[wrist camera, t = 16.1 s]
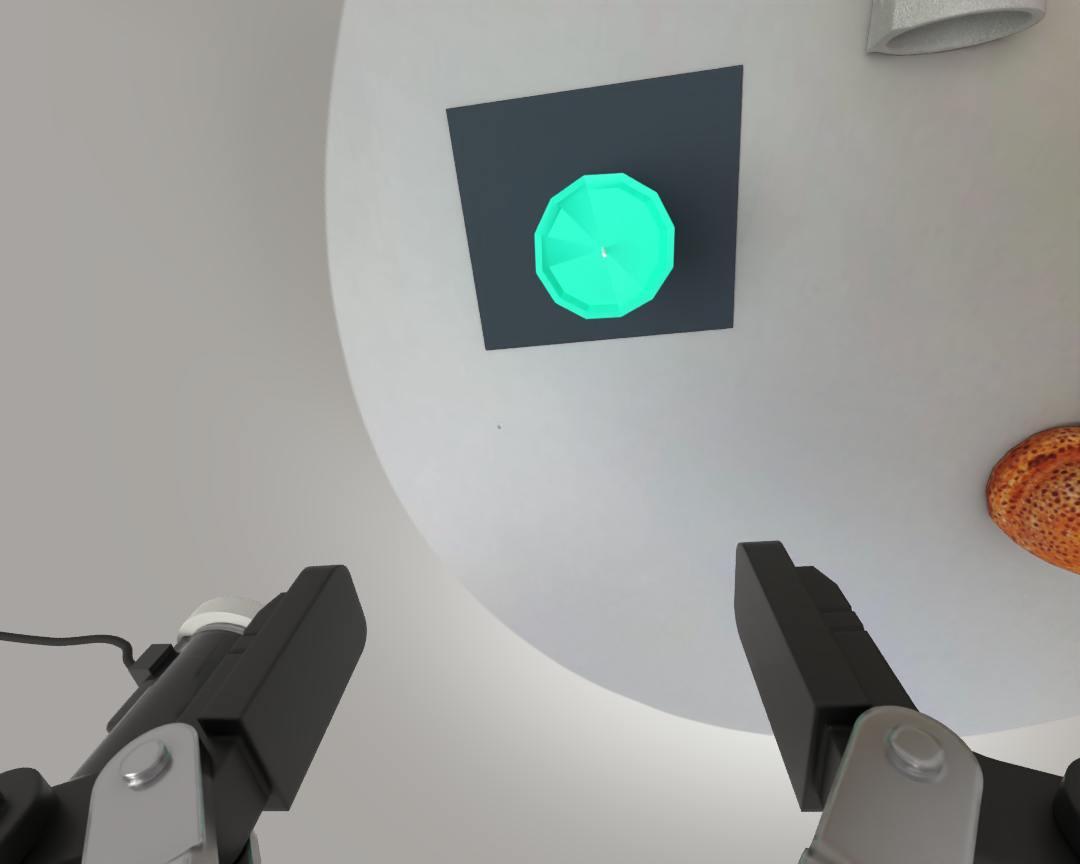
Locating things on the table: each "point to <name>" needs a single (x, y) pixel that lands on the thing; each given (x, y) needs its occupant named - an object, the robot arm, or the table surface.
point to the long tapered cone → (946, 23)
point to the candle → (604, 246)
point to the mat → (591, 149)
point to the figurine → (1041, 496)
